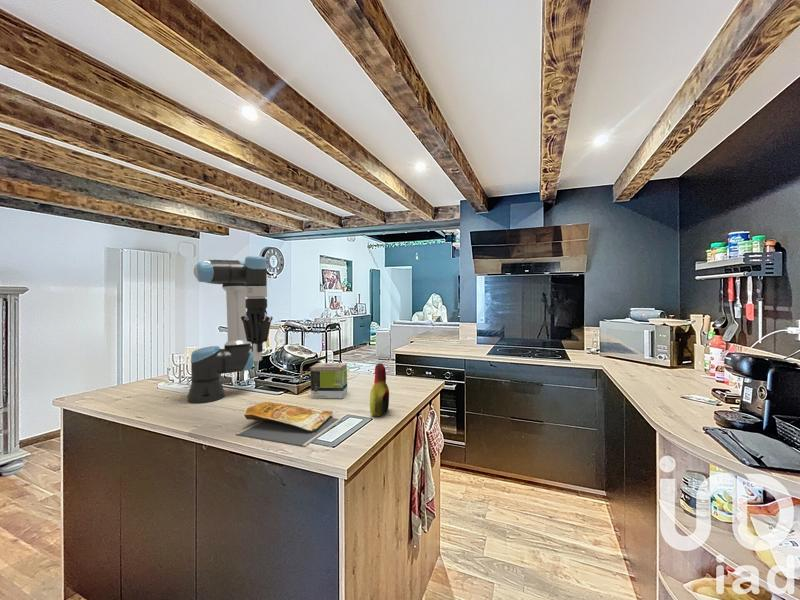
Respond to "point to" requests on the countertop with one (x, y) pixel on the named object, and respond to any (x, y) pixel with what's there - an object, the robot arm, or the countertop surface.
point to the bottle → (379, 392)
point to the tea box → (329, 380)
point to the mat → (286, 432)
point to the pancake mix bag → (288, 415)
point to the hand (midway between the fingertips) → (257, 360)
